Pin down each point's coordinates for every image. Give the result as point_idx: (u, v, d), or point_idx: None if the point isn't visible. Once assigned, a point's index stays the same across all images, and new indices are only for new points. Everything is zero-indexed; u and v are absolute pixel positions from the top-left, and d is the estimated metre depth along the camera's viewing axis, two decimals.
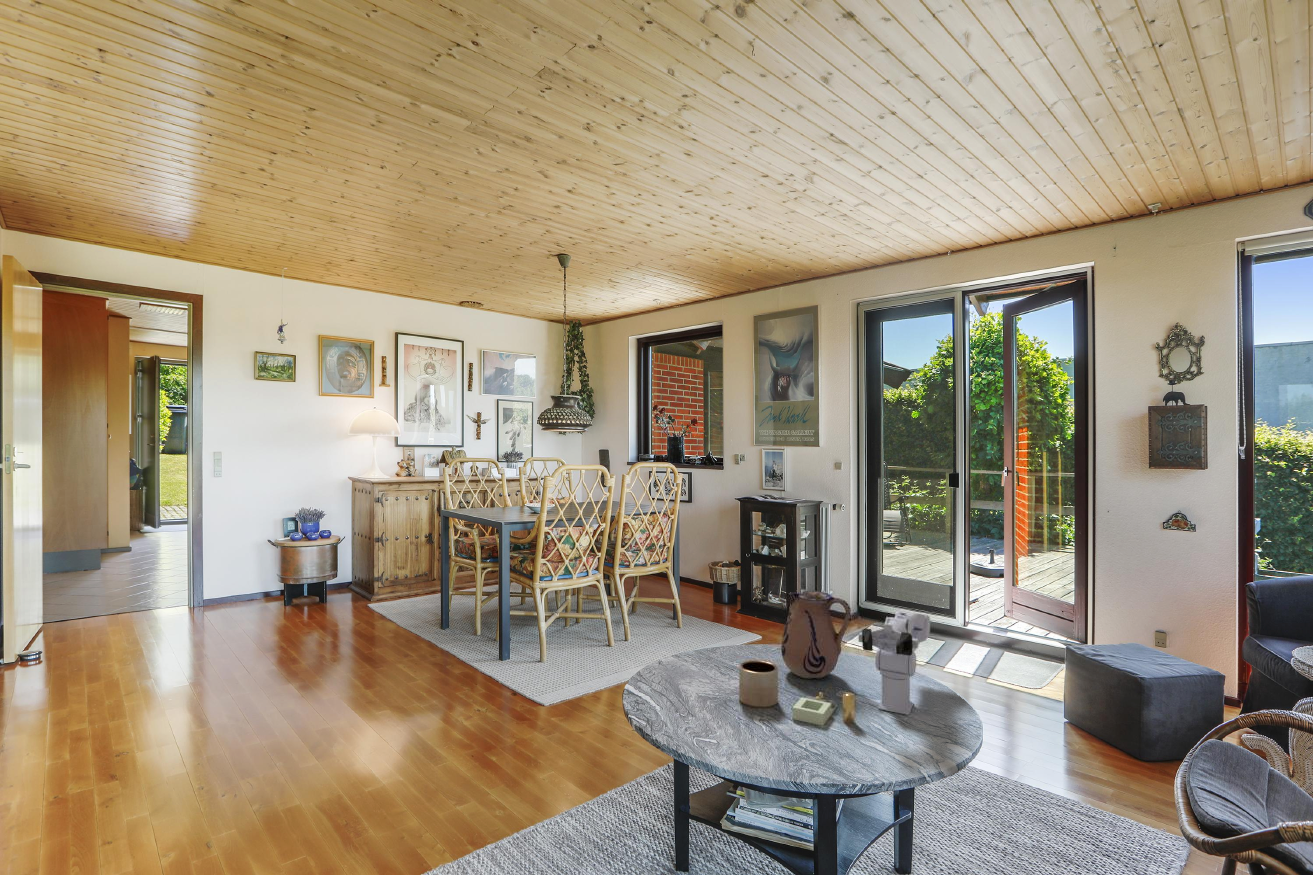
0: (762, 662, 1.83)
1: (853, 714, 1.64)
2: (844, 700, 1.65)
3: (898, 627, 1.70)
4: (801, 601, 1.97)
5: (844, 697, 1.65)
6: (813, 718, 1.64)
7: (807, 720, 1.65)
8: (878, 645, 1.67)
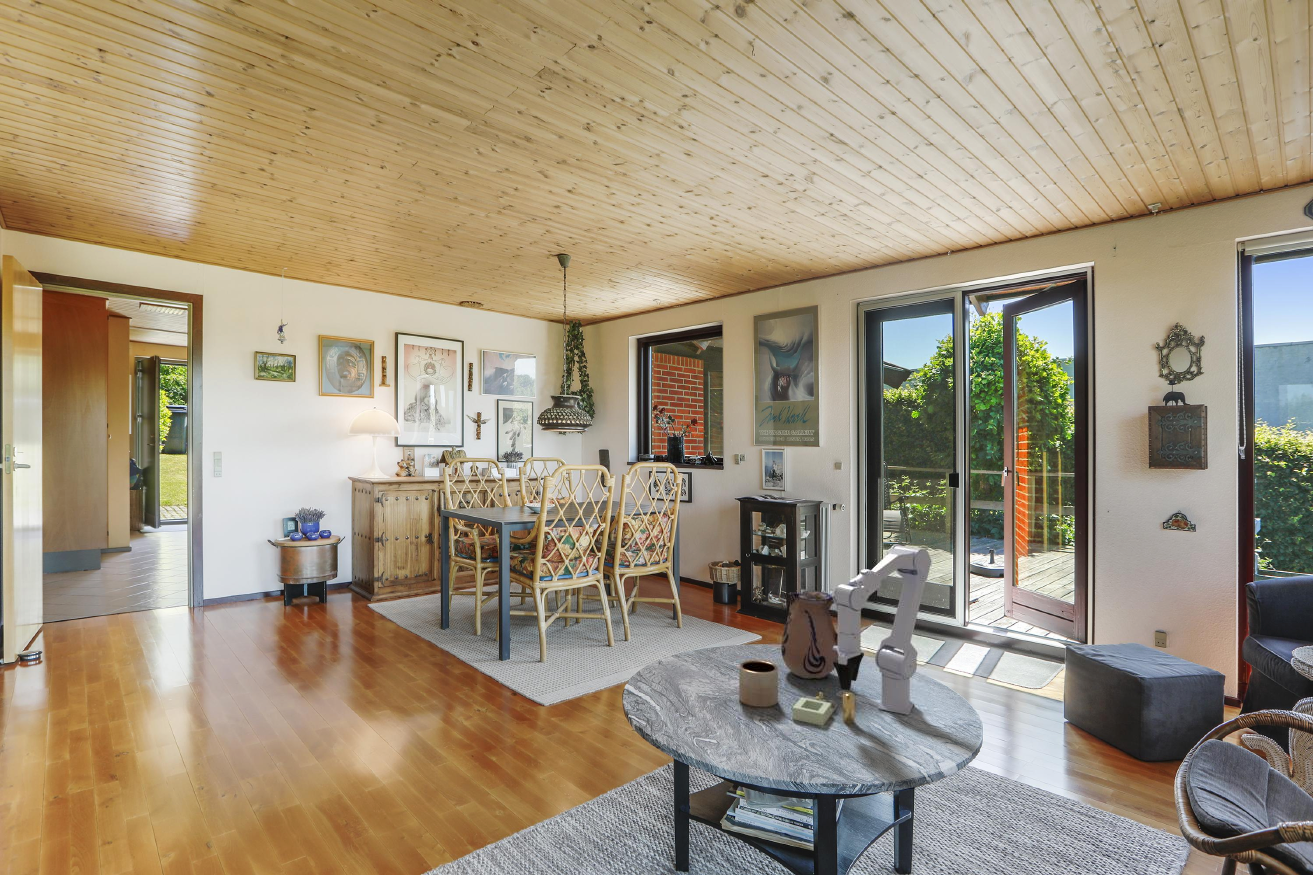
0: (762, 662, 1.83)
1: (853, 714, 1.64)
2: (844, 700, 1.65)
3: (847, 632, 1.63)
4: (801, 601, 1.97)
5: (844, 697, 1.65)
6: (813, 718, 1.64)
7: (807, 720, 1.65)
8: None
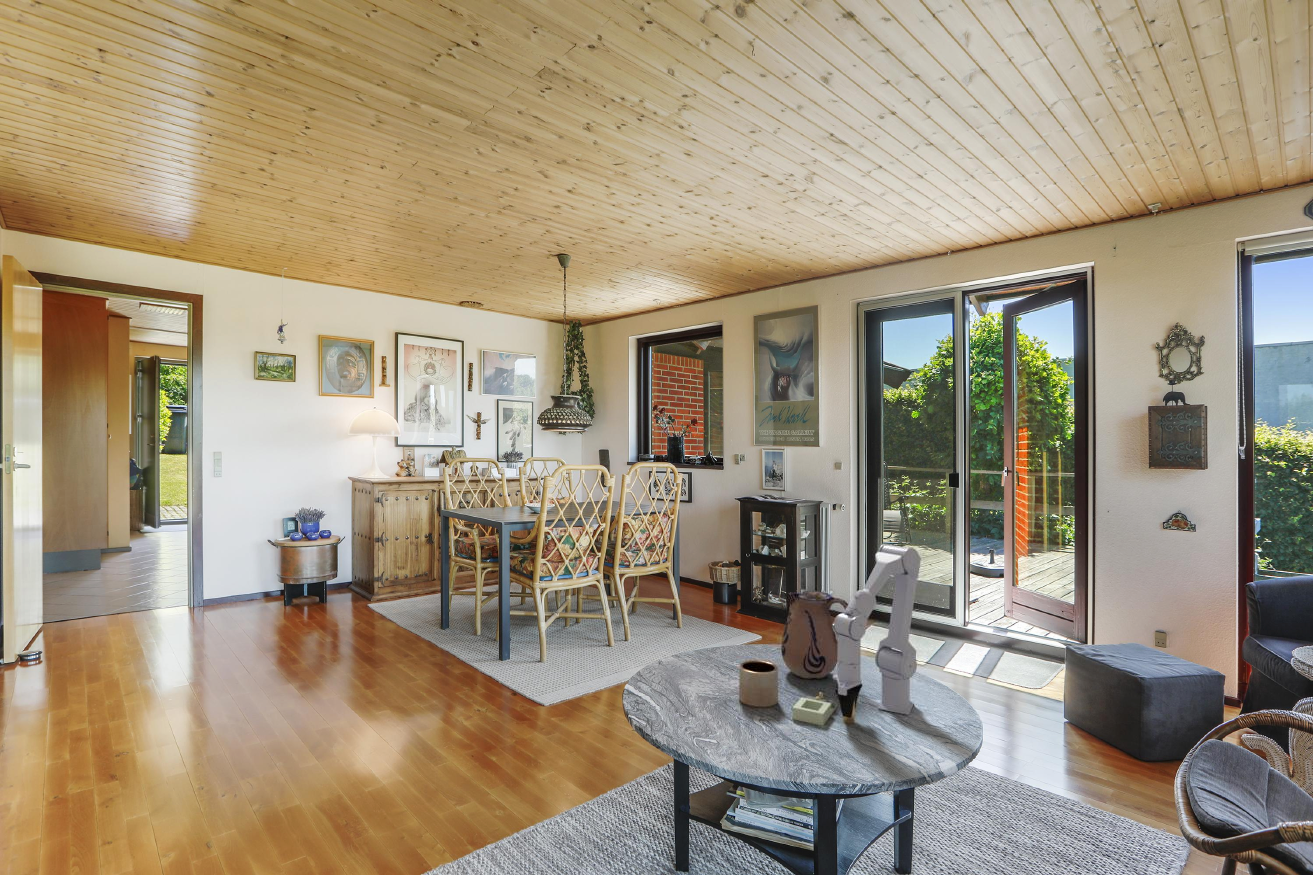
0: (762, 662, 1.83)
1: (853, 714, 1.64)
2: None
3: (847, 662, 1.63)
4: (801, 601, 1.97)
5: None
6: (813, 718, 1.64)
7: (807, 720, 1.65)
8: None
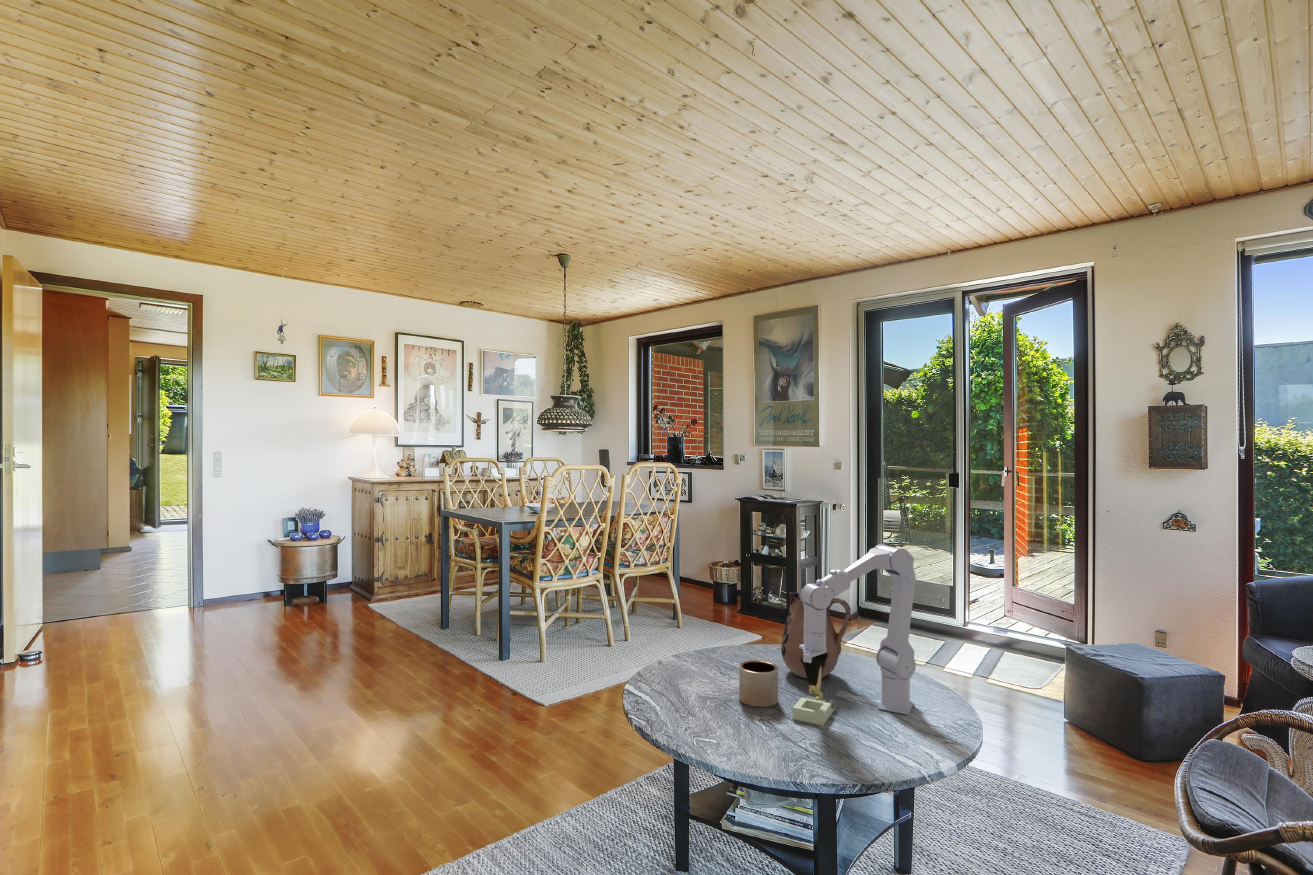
0: (762, 662, 1.83)
1: (819, 685, 1.67)
2: None
3: (810, 630, 1.66)
4: (801, 601, 1.97)
5: None
6: (813, 718, 1.64)
7: (807, 720, 1.65)
8: None
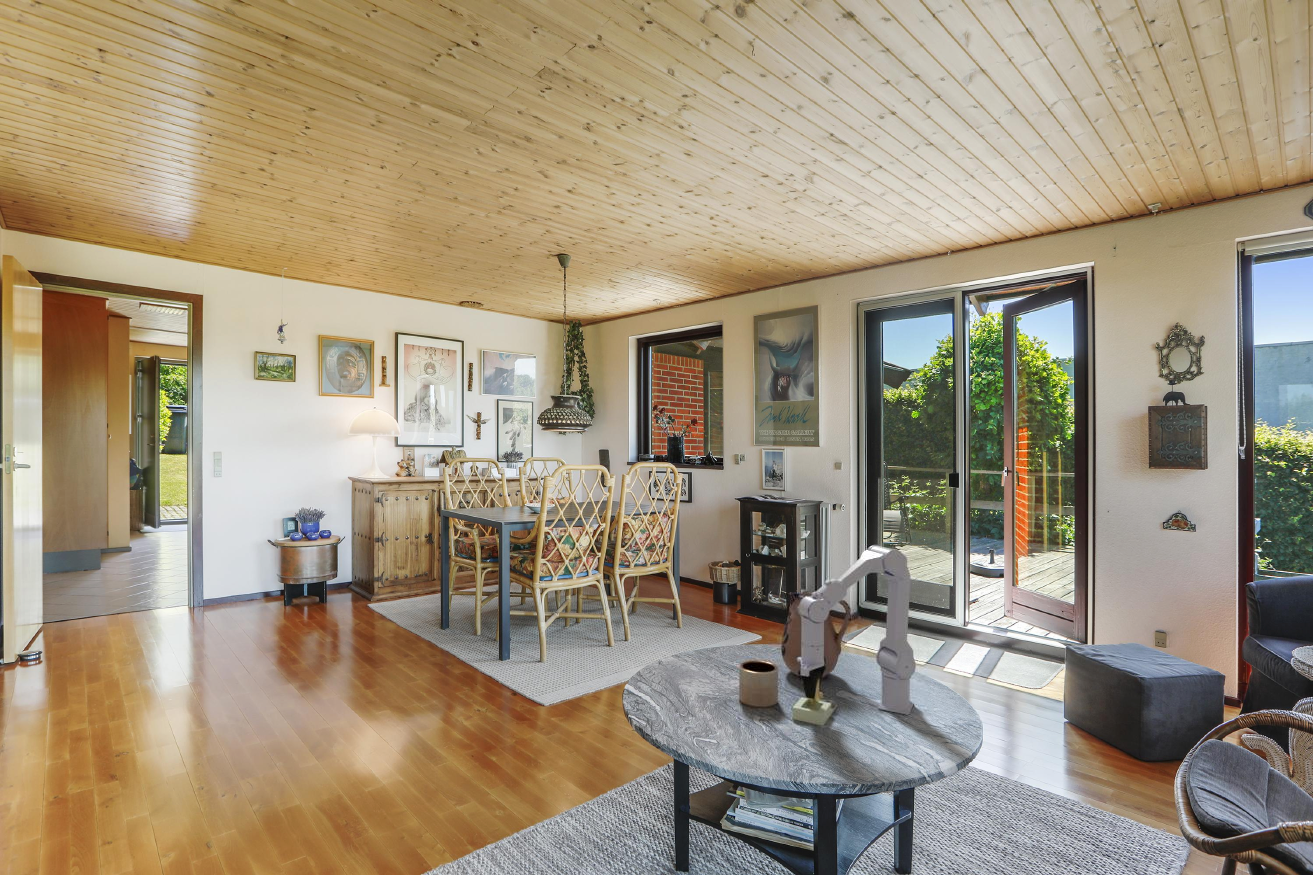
0: (762, 662, 1.83)
1: (817, 698, 1.67)
2: None
3: (807, 643, 1.66)
4: None
5: None
6: (813, 718, 1.64)
7: (807, 720, 1.65)
8: None
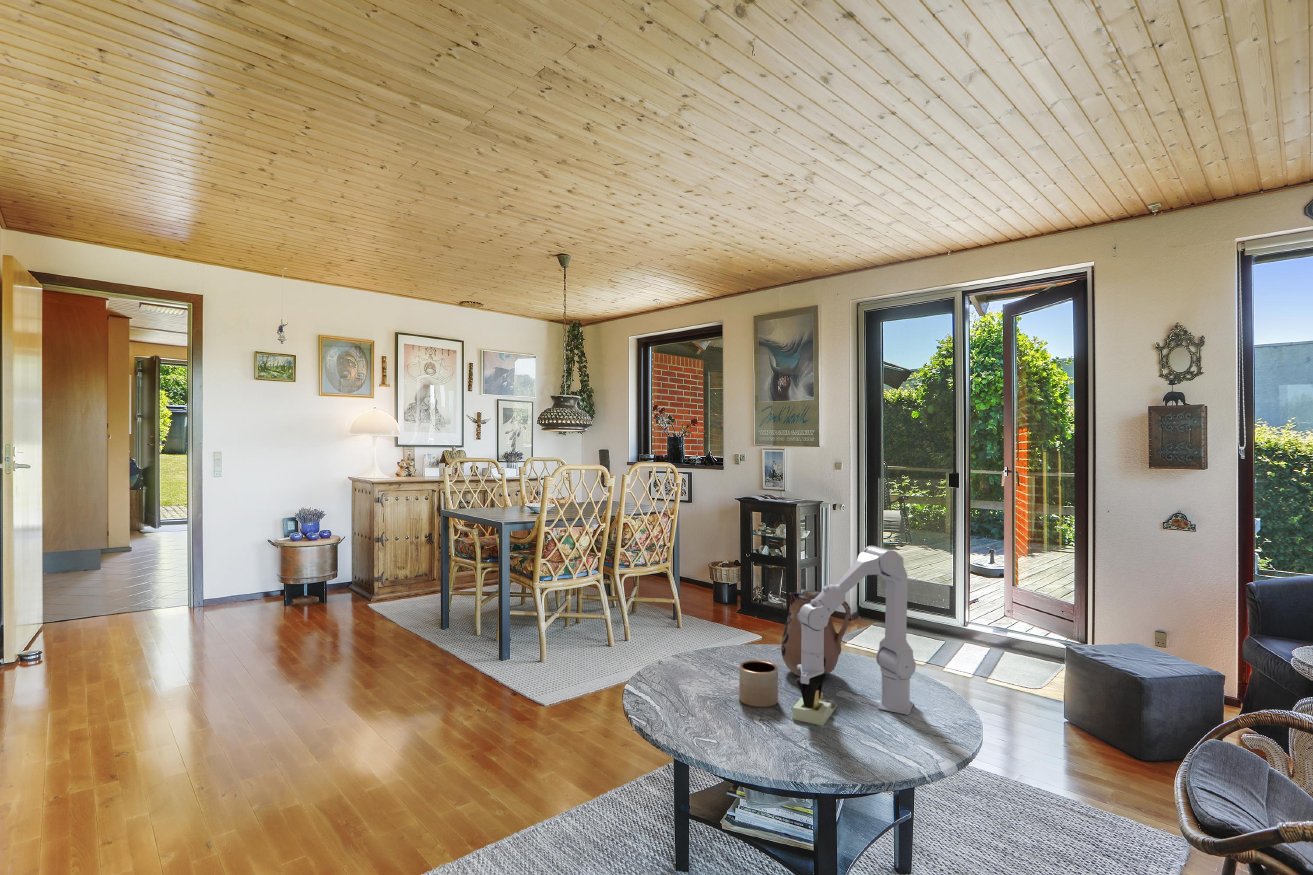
0: (762, 662, 1.83)
1: (817, 709, 1.67)
2: None
3: (807, 651, 1.66)
4: (801, 601, 1.97)
5: None
6: (813, 718, 1.64)
7: (807, 720, 1.65)
8: None
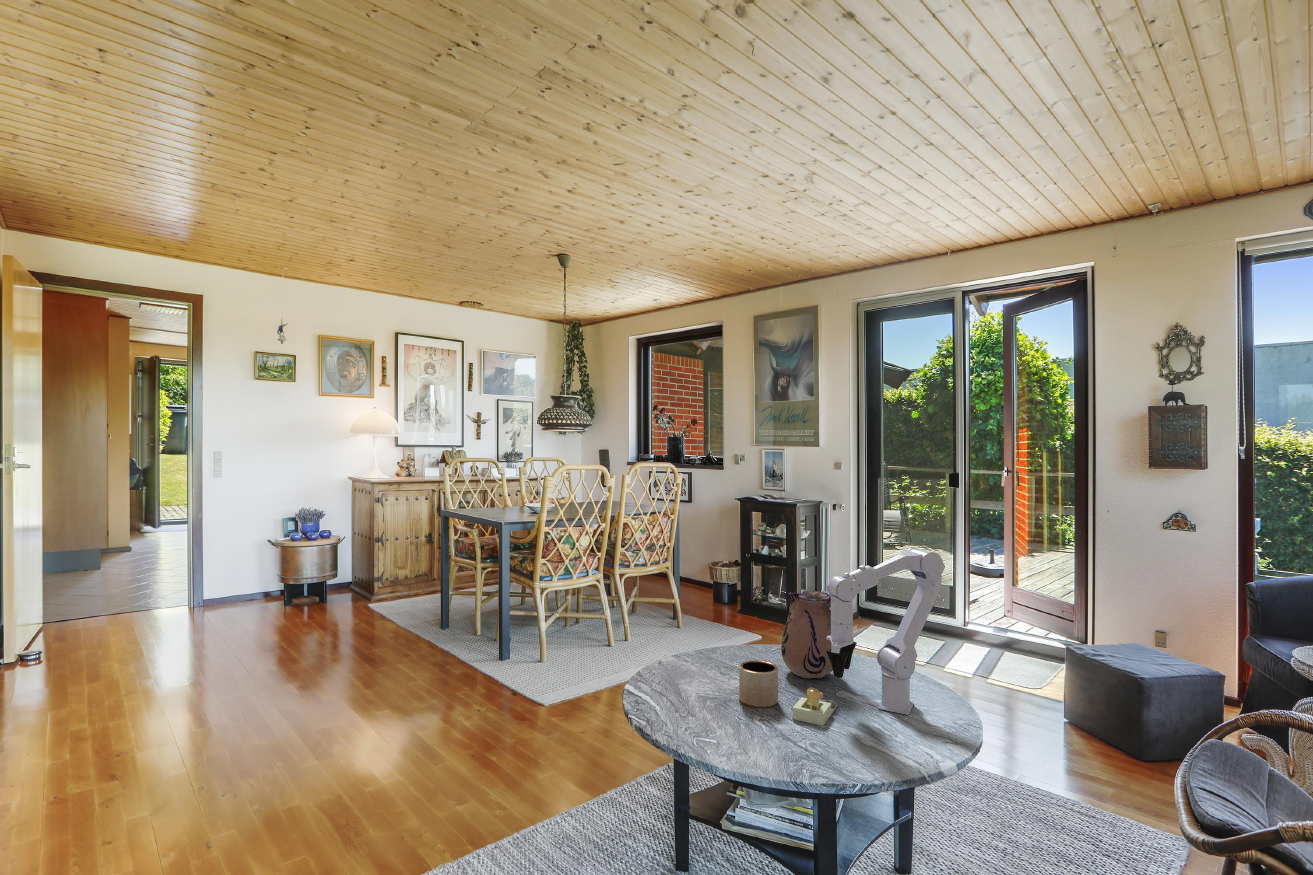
0: (762, 662, 1.83)
1: (817, 709, 1.67)
2: (808, 696, 1.67)
3: (836, 621, 1.70)
4: (801, 601, 1.97)
5: (808, 693, 1.67)
6: (813, 718, 1.64)
7: (807, 720, 1.65)
8: None
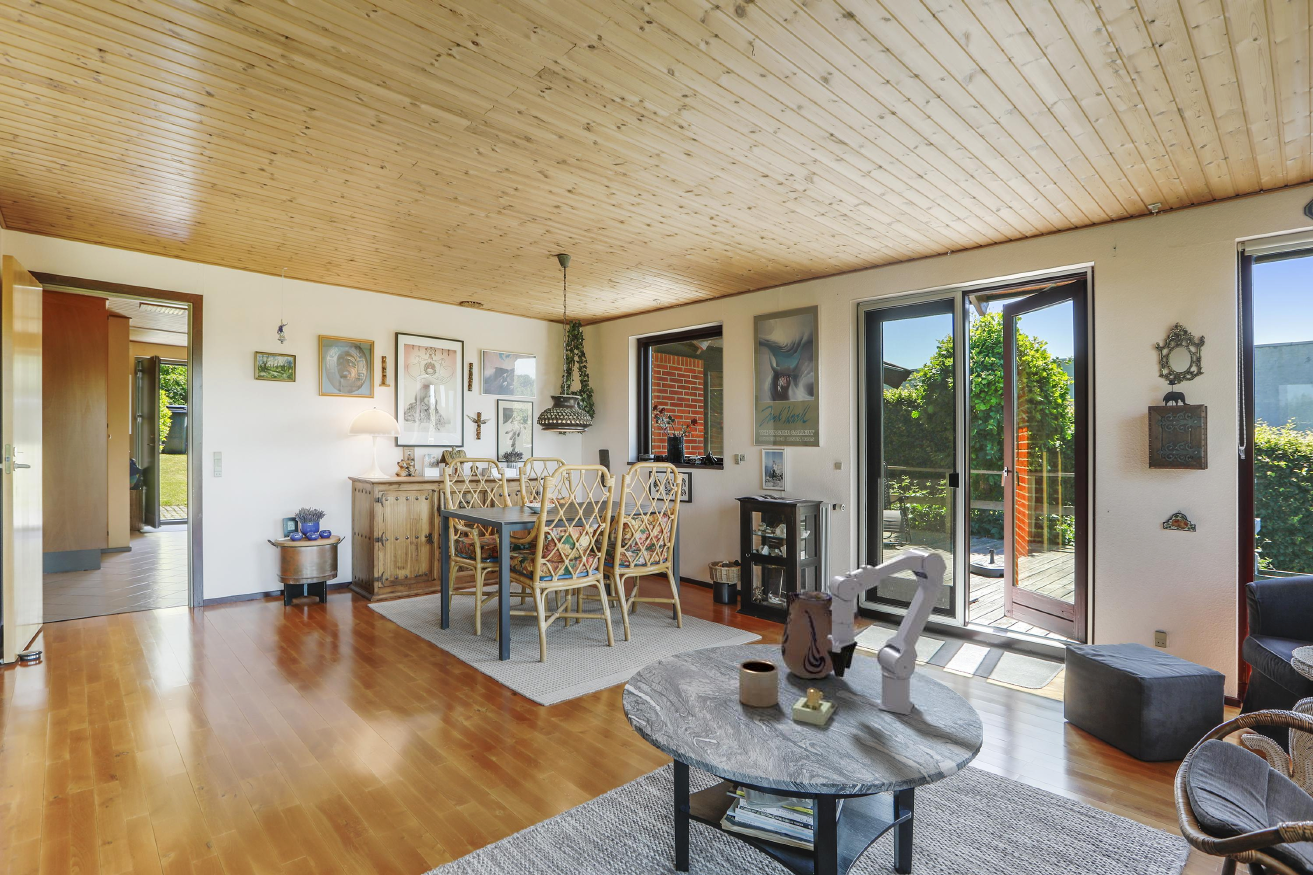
0: (762, 662, 1.83)
1: (817, 709, 1.67)
2: (808, 696, 1.67)
3: (837, 621, 1.70)
4: (801, 601, 1.97)
5: (808, 693, 1.67)
6: (813, 718, 1.64)
7: (807, 720, 1.65)
8: None
